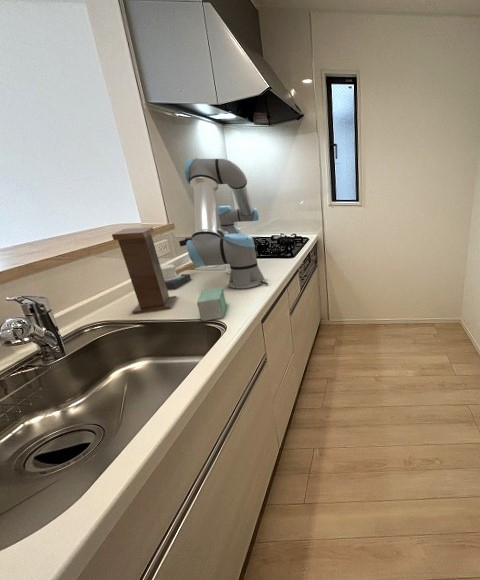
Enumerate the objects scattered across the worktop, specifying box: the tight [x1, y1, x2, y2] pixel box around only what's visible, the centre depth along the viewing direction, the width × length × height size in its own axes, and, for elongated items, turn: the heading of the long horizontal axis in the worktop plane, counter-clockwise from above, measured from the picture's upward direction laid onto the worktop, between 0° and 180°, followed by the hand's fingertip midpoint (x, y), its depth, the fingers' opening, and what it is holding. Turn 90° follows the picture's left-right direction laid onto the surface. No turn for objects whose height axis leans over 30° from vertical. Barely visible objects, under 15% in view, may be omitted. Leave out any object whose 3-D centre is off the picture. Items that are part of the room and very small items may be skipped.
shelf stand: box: [111, 226, 178, 315], centre depth 119 cm, size 12×12×30 cm
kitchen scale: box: [164, 273, 192, 290], centre depth 147 cm, size 13×13×4 cm
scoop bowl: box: [160, 262, 197, 279], centre depth 152 cm, size 21×7×5 cm, turn 172°
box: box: [196, 287, 227, 322], centre depth 117 cm, size 7×14×8 cm, turn 22°
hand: (192, 244), depth 161 cm, fingers open, 13 cm apart
